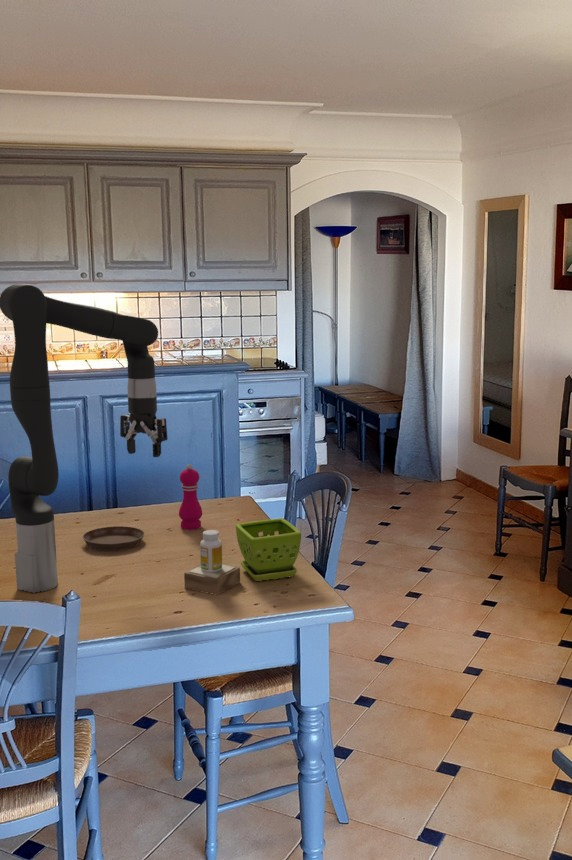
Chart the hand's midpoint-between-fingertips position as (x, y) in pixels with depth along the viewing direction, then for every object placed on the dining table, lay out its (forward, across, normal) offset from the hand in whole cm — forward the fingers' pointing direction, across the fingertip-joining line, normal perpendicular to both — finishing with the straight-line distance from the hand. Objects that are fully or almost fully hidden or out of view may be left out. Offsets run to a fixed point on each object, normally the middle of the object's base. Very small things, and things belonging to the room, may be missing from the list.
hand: (144, 455), depth 230 cm
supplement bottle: (+26, +25, -6) cm, 37 cm away
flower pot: (+30, +33, +9) cm, 46 cm away
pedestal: (+30, +26, -5) cm, 40 cm away
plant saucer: (+30, -20, +8) cm, 37 cm away
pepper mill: (+30, -10, +32) cm, 45 cm away
